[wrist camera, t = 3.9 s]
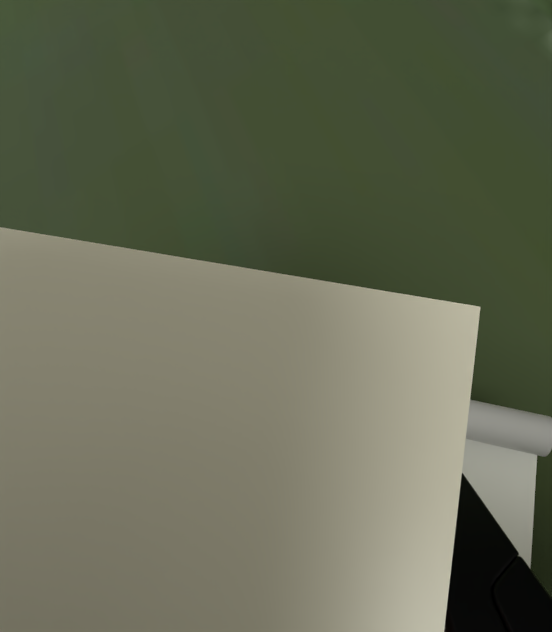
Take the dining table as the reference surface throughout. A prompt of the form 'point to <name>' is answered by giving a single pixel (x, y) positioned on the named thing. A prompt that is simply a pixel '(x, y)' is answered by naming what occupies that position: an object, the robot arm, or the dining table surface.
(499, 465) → the white slotted base
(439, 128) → the dining table surface
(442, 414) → the rectangular peg
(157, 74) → the dining table surface
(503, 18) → the dining table surface
